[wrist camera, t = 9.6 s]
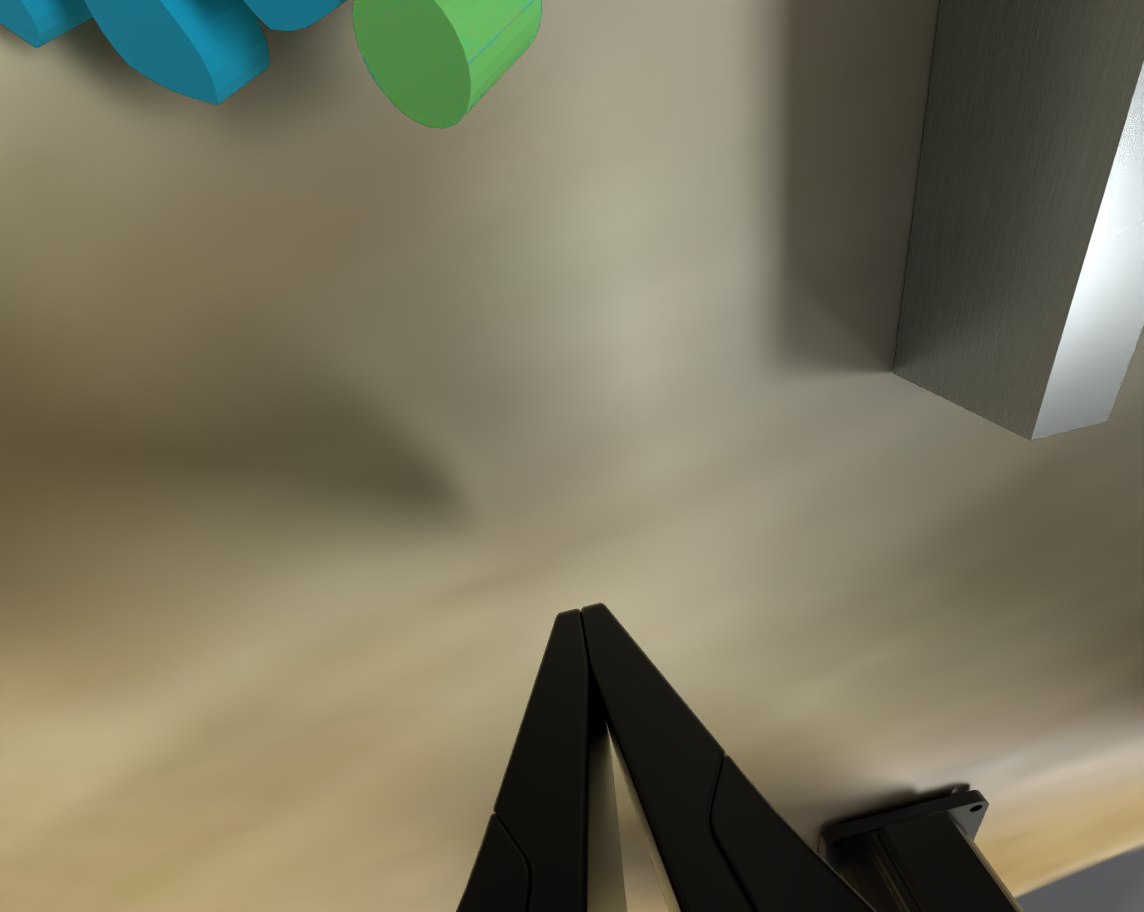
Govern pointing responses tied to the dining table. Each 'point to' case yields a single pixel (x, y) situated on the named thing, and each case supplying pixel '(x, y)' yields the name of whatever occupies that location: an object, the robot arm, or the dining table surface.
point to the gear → (238, 47)
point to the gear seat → (1029, 213)
